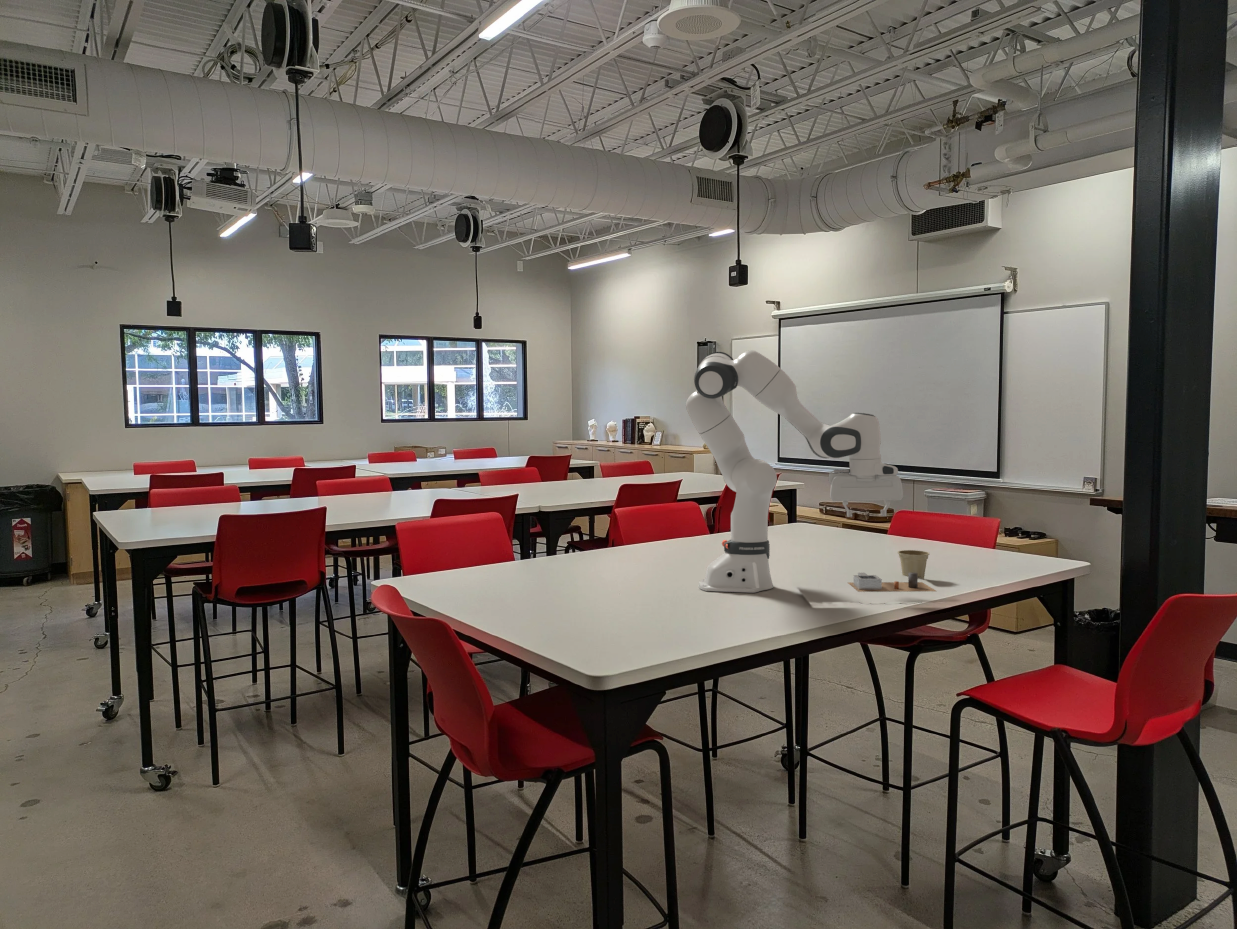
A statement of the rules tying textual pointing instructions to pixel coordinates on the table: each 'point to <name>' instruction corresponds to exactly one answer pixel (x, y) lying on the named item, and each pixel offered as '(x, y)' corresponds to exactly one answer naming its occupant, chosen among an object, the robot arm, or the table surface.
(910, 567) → the flower pot
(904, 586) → the board
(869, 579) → the grey square frame
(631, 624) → the table surface
